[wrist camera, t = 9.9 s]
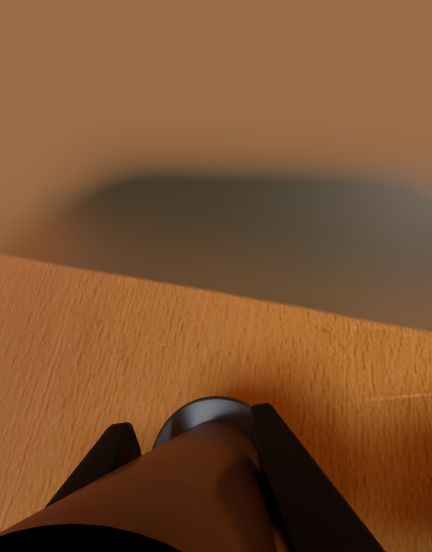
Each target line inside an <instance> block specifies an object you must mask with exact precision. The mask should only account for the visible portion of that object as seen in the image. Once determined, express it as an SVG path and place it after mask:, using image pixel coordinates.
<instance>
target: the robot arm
mask: <svg viewBox="0 0 432 552" xmlns="http://www.w3.org/2000/svg"><path fill="white" fill-rule="evenodd" d="M251 415H252V422H253V429H254V435H255V442H256V448H257V455H258V461H259V468H260V474H261V480H262V485H263V489H264V492H265V495H266V499H267V503H268V508H269V513H270V518H271V523H272V529H273V534H274V539H275V544H276V549H277V552H385V550H384V549H383V548H382V546H381V545H380V544H379V543H378V541H377V540H376V539H375V537H374V536H373V535H372V534H371V532H370V531H369V530H368V528H367V527H366V526H365V525H364V523H363V522H362V521H361V519H360V518H359V517H358V516H357V514H356V513H355V512H354V510H353V509H352V508H351V507H350V505H349V504H348V503H347V501H346V500H345V499H344V498H343V496H342V495H341V494H340V492H339V491H338V490H337V489H336V487H335V486H334V485H333V483H332V482H331V481H330V480H329V478H328V477H327V476H326V474H325V473H324V472H323V471H322V469H321V468H320V467H319V465H318V464H317V463H316V462H315V460H314V459H313V458H312V456H311V455H310V454H309V453H308V451H307V450H306V449H305V447H304V446H303V445H302V444H301V442H300V441H299V440H298V438H297V437H296V436H295V435H294V433H293V432H292V431H291V429H290V428H289V427H288V426H287V424H286V423H285V422H284V420H283V419H282V418H281V417H280V415H279V414H278V413H277V411H276V410H275V409H274V408H273V406H272V405H271V404H269V403H262V404H255V405H252V406H251ZM140 456H141V450H140V446H139V443H138V440H137V438H136V435H135V432H134V429H133V427H132V425H131V424H130V423H129V422H125V423H118V424H112V425H111V426H109V427H108V428H107V430H106V431H105V432H104V434H103V435H102V436H101V437H100V439H99V440H98V441H97V442H96V444H95V445H94V446H93V447H92V449H91V450H90V451H89V452H88V454H87V455H86V456H85V457H84V459H83V460H82V461H81V462H80V464H79V465H78V466H77V468H76V469H75V470H74V471H73V473H72V474H71V475H70V476H69V478H68V479H67V480H66V481H65V483H64V484H63V485H62V486H61V488H60V489H59V490H58V491H57V493H56V494H55V495H54V496H53V498H52V499H51V500H50V502H49V503H48V504H47V505H46V507H48V506H50V505H52V504H54V503H55V502H57V501H59V500H61V499H63V498H64V497H66V496H68V495H70V494H72V493H74V492H75V491H77V490H79V489H81V488H83V487H85V486H86V485H88V484H90V483H92V482H94V481H96V480H97V479H99V478H101V477H103V476H105V475H107V474H108V473H110V472H112V471H114V470H116V469H118V468H119V467H121V466H123V465H125V464H127V463H129V462H130V461H132V460H134V459H136V458H138V457H140ZM46 507H45V508H46ZM114 533H115V534H116V535H117V536H119V537H120V538H133V537H136V535H137V533H136V532H132V531H128V530H123V529H118V528H114Z"/></svg>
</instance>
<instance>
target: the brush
mask: <svg viewBox="0 0 432 552" xmlns="http://www.w3.org/2000/svg"><path fill="white" fill-rule="evenodd" d="M114 528H118V529H123V530H128V531H132V532H136V533H137V535H136V537H133V538H120V537H119V536H117V535H116V534H115V533H114ZM0 552H277V549H276V544H275V539H274V534H273V529H272V523H271V518H270V513H269V508H268V503H267V499H266V495H265V492H264V489H263V485H262V480H261V474H260V468H259V461H258V455H257V448H256V442H255V435H254V429H253V422H252V415H251V406H250V405H249V404H247V403H245V402H243V401H241V400H238V399H236V398H231V397H221V396H213V397H205V398H200V399H197V400H194V401H192V402H190V403H188V404H186V405H184V406H183V407H181V408H180V409H178V410H177V411H176V412H175V413H174V414H173V415H172V416H171V417H170V418H169V419H168V420H167V421H166V422H165V424H164V425H163V427H162V428H161V430H160V432H159V434H158V436H157V438H156V440H155V443H154V446H153V449H152V450H151V451H149V452H147V453H145V454H143V455H141V456H140V457H138V458H136V459H134V460H132V461H130V462H129V463H127V464H125V465H123V466H121V467H119V468H118V469H116V470H114V471H112V472H110V473H108V474H107V475H105V476H103V477H101V478H99V479H97V480H96V481H94V482H92V483H90V484H88V485H86V486H85V487H83V488H81V489H79V490H77V491H75V492H74V493H72V494H70V495H68V496H66V497H64V498H63V499H61V500H59V501H57V502H55V503H54V504H52V505H50V506H48V507H46V508H44V509H43V510H41V511H39V512H37V513H35V514H33V515H32V516H30V517H28V518H26V519H24V520H22V521H21V522H19V523H17V524H15V525H13V526H11V527H10V528H8V529H6V530H4V531H2V532H0Z"/></svg>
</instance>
